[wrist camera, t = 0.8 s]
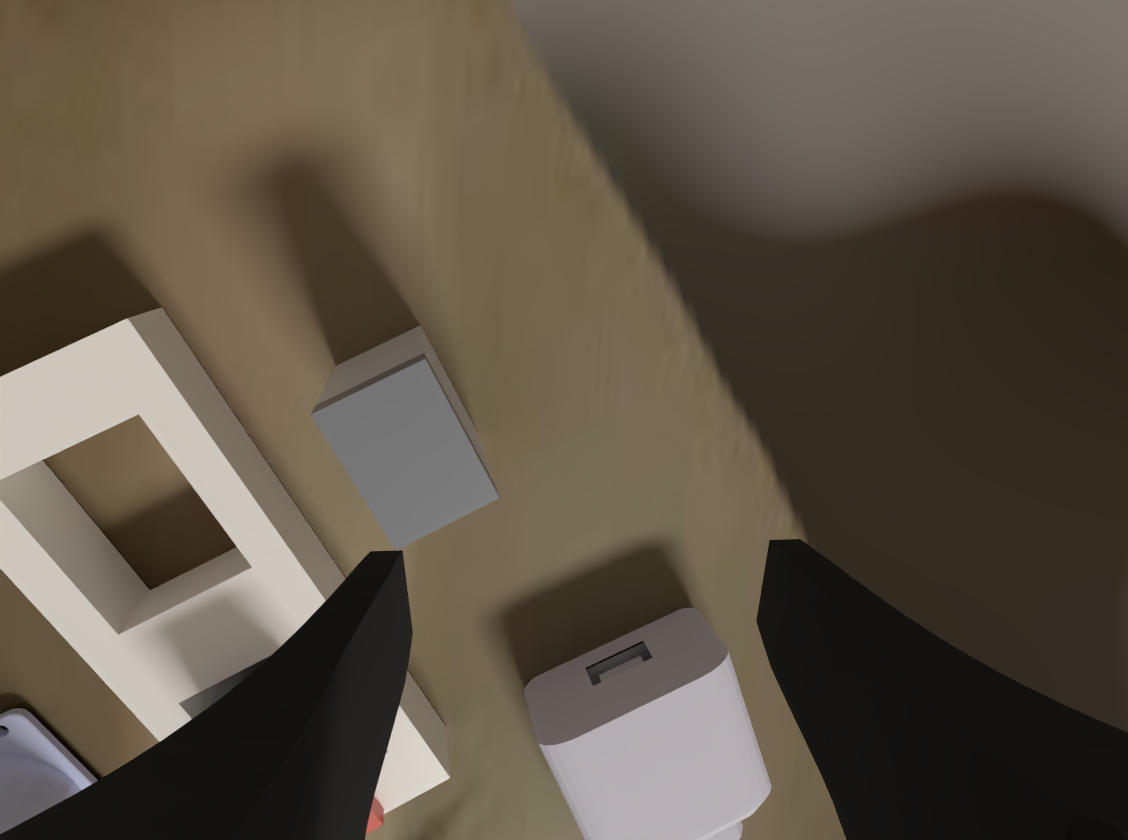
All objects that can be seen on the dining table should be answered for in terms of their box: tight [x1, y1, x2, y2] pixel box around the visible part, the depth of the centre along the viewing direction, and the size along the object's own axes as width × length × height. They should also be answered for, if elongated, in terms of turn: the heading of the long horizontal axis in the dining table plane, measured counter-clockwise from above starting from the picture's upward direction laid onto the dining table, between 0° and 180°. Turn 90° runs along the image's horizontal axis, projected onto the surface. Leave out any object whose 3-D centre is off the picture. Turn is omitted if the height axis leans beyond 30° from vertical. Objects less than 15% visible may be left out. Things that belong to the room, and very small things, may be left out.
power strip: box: [0, 307, 450, 834], centre depth 25 cm, size 8×22×4 cm, turn 24°
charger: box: [524, 608, 771, 840], centre depth 32 cm, size 5×9×15 cm
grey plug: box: [311, 325, 500, 551], centre depth 23 cm, size 4×5×7 cm
